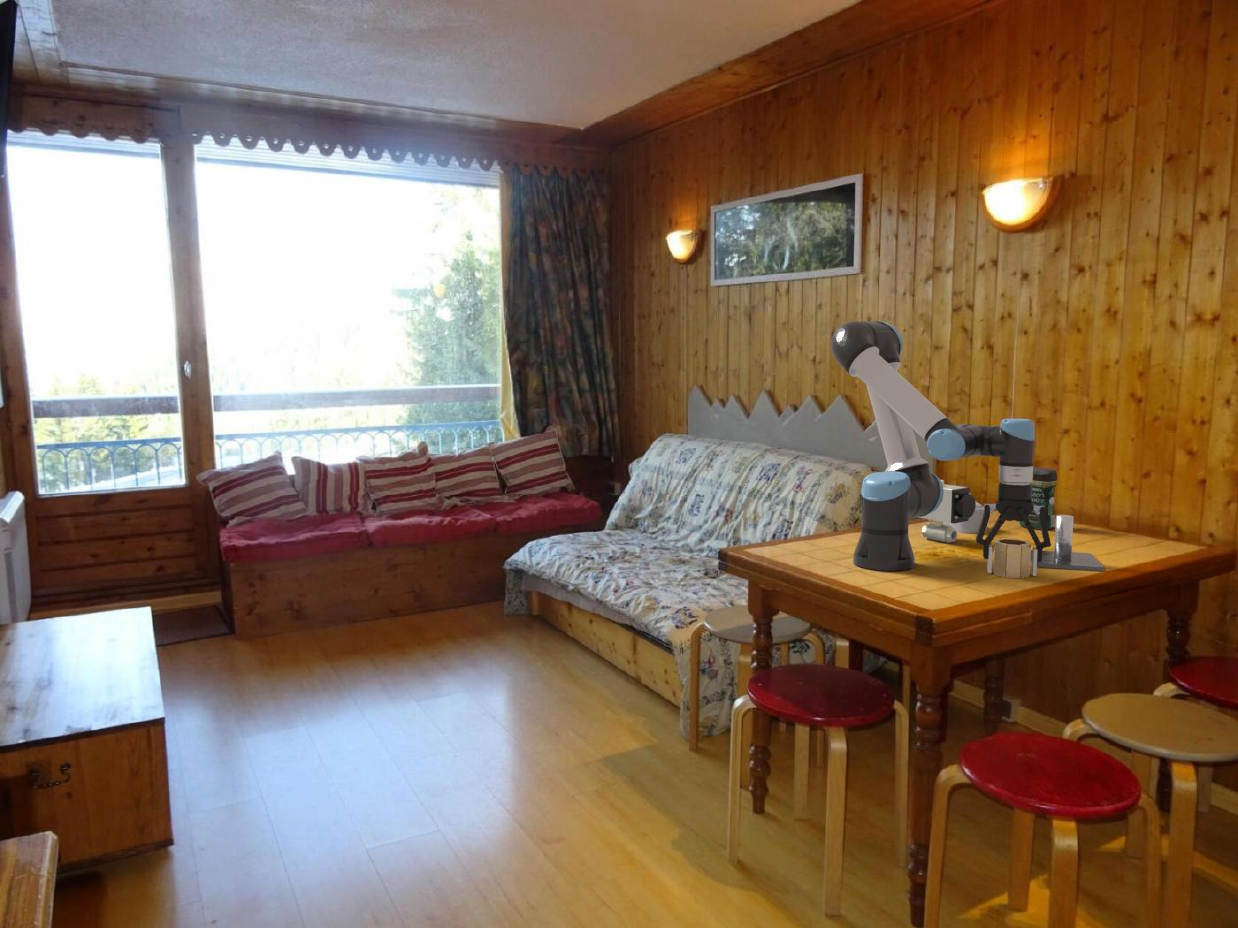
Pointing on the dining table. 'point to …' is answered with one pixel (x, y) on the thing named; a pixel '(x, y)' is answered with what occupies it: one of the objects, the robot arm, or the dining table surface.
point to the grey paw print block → (970, 521)
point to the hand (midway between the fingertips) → (1011, 573)
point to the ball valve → (949, 513)
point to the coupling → (1011, 558)
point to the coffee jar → (1043, 496)
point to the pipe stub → (1067, 550)
